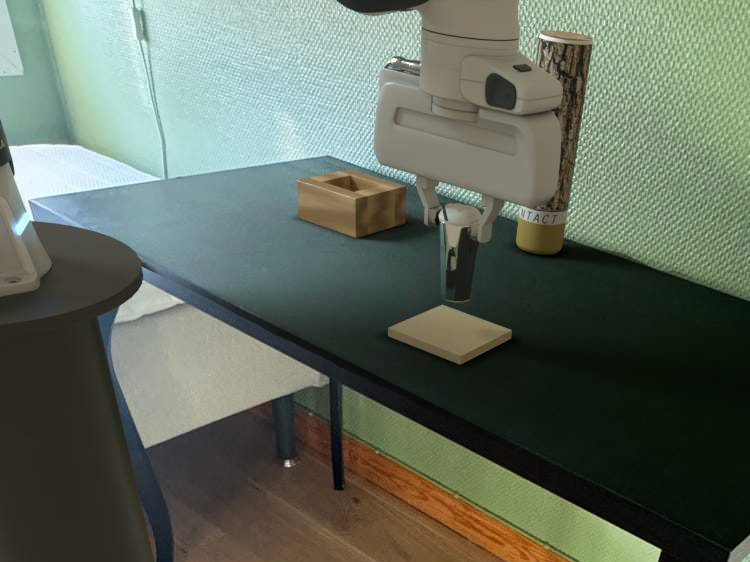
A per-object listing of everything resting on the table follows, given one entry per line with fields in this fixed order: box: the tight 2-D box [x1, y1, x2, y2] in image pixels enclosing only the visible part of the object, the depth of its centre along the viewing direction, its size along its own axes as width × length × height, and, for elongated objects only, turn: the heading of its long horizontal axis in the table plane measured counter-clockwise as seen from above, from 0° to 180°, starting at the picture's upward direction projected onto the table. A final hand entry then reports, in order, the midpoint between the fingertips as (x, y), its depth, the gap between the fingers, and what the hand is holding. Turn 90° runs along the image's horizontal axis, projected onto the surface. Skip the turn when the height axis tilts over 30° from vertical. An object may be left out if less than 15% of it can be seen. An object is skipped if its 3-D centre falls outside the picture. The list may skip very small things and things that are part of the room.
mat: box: [387, 304, 513, 366], centre depth 90 cm, size 10×10×1 cm
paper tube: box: [515, 29, 594, 256], centre depth 108 cm, size 7×7×25 cm
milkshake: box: [438, 200, 482, 303], centre depth 84 cm, size 5×5×10 cm
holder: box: [296, 168, 407, 239], centre depth 116 cm, size 11×11×5 cm
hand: (457, 233), depth 83 cm, fingers closed on milkshake, 4 cm apart
